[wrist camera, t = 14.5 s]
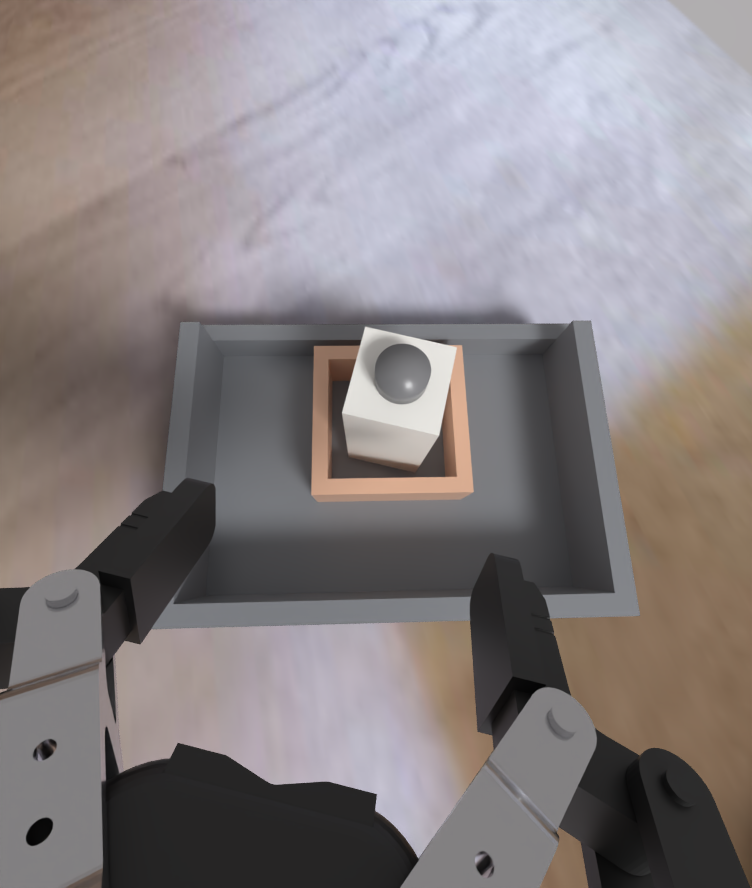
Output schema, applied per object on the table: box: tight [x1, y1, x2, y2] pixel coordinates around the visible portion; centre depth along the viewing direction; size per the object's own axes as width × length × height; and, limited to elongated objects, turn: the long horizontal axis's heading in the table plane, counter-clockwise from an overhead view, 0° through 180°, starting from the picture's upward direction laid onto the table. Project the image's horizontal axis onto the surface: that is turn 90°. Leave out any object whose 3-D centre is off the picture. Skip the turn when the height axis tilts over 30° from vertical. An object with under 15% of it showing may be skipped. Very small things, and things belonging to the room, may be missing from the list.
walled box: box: [151, 321, 640, 629], centre depth 23 cm, size 22×16×5 cm
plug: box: [342, 327, 457, 473], centre depth 21 cm, size 4×4×9 cm
